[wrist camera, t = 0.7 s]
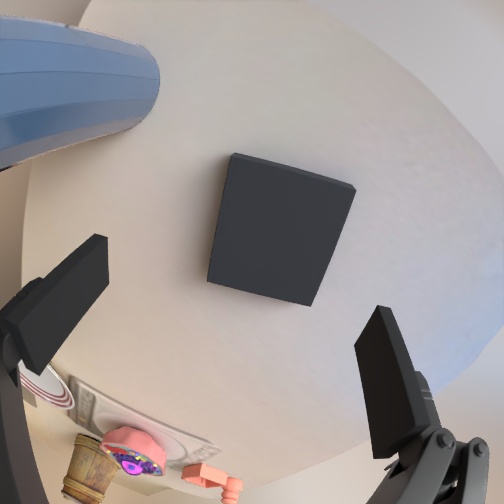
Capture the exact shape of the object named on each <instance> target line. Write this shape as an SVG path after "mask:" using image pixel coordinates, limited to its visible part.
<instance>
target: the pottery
mask: <svg viewBox="0 0 504 504" xmlns="http://www.w3.org/2000/svg"><path fill="white" fill-rule="evenodd" d="M227 476H228V473H225V472H223V471H220V470H218V469H215V468H212V467H210V466H208V465H205V464H203V463H201V464H197V465H192V466H187V467H184V469H183V473H182V477H181V479H184V480H186V481H189V482H191V483H194V484H197V485H199V486H202V487H205V488H211V487H219V486H221V487H222V489H223V490H224V491H223V492H222V494H221V495H222V497H223V498H222V500H221V502H222V503H224V504H237V500H236V499H238V498H239V494H238V493H237V492H239V491H240V490H241V489H242V487H243V483H242V481H241V480H239V479H235V478H227Z"/></svg>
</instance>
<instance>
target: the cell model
mask: <svg viewBox="0 0 504 504" xmlns="http://www.w3.org/2000/svg"><path fill="white" fill-rule="evenodd" d="M100 448H101V449H102V450H103V451H104V452H105V453H106V454H107V455H108V456H109V457H110V458H111V459H113V460H114V461H116V462H117V463H119V464H121V467H122V468H123V470H124V471H125V472H126V473H127V474H129V475H140V474H142V473H144V474H149V475H154V476H163V475H164V474H165V464H166V458H167V454H166V451H165V450H164V449H163V448H162V447H161V446H160V445H159V444H158V443H156V442H155V441H154V439H153V438H152V437H151V436H150V435H149V434H147V433H146V432H143V431H140V430H137V429H134V428H131V427H121V428H118V429H116V430H113V431H108V432H107V433H105V435H104V437H103V439H102V442H101V444H100Z"/></svg>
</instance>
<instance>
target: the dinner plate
mask: <svg viewBox="0 0 504 504" xmlns="http://www.w3.org/2000/svg"><path fill="white" fill-rule="evenodd" d="M18 366H19V370H20V379H21V383H22V385H23V386H25V387H26V388H27V389H28V390H30V391H31V392H32V393H33V394H35V395H36V396H38V397H39V398H41V399H42V400H44V401H46V402H48V403H49V404H51V405H54V406H56V407H59V408H62V409H72V408H73V407H74V405H75V403H74V399H73V396H72V394H71V392H70V390H69V389H68V387H67V386H66V384H65V383H64V381H63V380H62V379H61V377H60V376H59V375H58V374H57V373H56V371H55V370H54V369H53V368H52V366H51V365H50V364H49V363H48V365H47V366H46V368H45V369H44V371H43V372H42V374H41V375H40V376H38V375H36V374H35V373H33V372H31V371H30V370H28V369H26V367H25V365H24V363H23V361H22V359H21V361H20V362H19V363H18Z"/></svg>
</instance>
